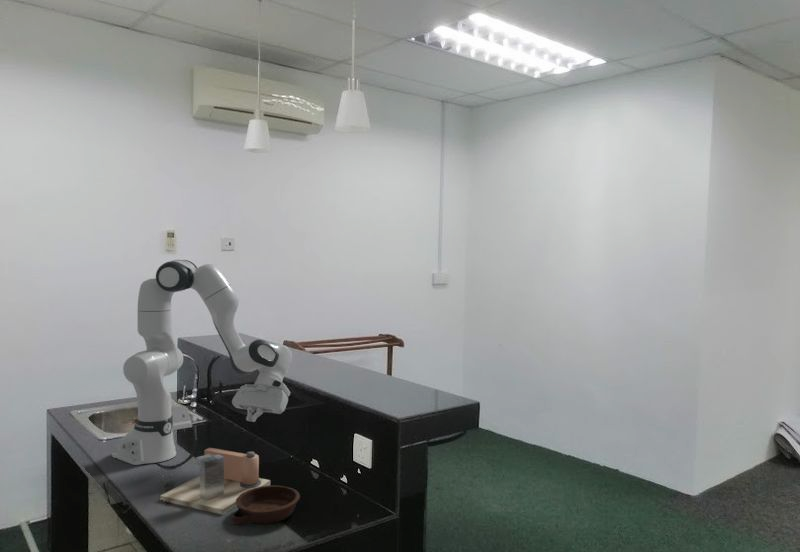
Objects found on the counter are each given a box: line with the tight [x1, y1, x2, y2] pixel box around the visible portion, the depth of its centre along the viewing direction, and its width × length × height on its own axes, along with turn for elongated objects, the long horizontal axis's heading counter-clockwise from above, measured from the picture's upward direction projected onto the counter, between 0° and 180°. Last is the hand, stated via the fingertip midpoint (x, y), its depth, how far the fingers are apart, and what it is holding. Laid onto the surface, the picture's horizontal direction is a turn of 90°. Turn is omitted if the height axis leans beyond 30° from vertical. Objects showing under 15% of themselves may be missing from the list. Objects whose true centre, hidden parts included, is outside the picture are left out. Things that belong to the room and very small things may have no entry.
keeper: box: [196, 454, 224, 500], centre depth 174 cm, size 6×5×12 cm
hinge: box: [171, 405, 193, 431], centre depth 243 cm, size 17×5×10 cm, turn 128°
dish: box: [231, 484, 301, 525], centre depth 166 cm, size 18×22×5 cm
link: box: [203, 447, 260, 485], centre depth 186 cm, size 20×5×9 cm, turn 68°
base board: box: [159, 475, 271, 516], centre depth 180 cm, size 23×23×2 cm
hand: (250, 420), depth 200 cm, fingers closed
